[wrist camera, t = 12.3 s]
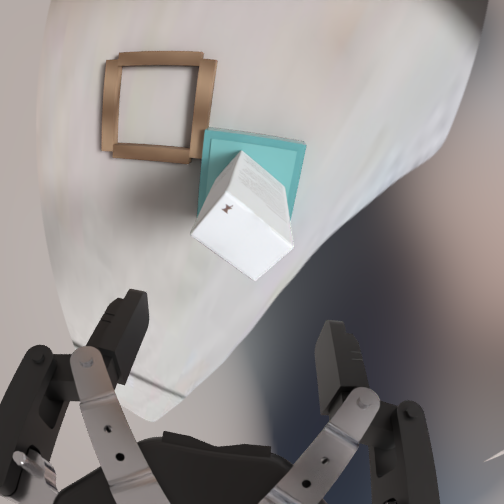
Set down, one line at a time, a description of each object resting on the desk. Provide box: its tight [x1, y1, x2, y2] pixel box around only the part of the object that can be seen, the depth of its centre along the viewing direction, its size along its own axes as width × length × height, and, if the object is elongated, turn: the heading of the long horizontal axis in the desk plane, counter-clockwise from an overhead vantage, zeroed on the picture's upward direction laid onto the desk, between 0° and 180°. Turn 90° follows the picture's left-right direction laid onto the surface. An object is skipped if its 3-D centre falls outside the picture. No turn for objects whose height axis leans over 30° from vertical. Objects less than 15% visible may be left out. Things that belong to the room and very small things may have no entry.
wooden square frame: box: [102, 51, 217, 164], centre depth 28 cm, size 12×12×1 cm
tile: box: [197, 127, 306, 220], centre depth 31 cm, size 10×10×2 cm
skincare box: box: [190, 150, 294, 281], centre depth 25 cm, size 6×4×12 cm
